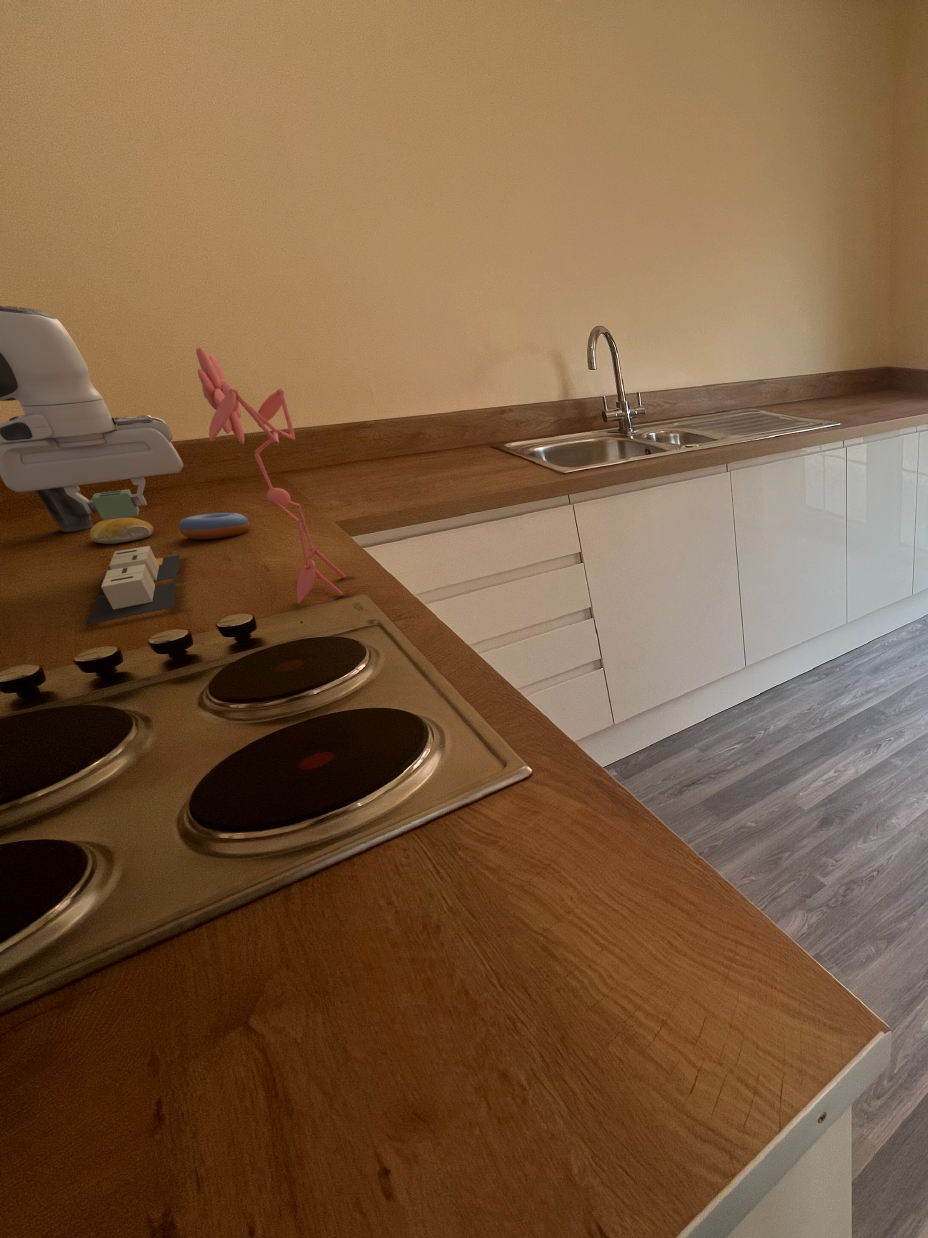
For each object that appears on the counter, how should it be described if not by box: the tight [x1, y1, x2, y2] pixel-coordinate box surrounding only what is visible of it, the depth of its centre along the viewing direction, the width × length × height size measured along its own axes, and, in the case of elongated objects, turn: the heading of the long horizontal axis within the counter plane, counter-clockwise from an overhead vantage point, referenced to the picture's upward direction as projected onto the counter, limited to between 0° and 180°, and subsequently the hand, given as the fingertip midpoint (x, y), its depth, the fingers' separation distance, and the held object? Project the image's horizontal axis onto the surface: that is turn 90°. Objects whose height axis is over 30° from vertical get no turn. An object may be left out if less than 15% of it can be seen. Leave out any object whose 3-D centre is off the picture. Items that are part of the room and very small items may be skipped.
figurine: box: [195, 346, 353, 604], centre depth 98 cm, size 15×26×35 cm, turn 32°
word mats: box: [85, 554, 180, 625], centre depth 109 cm, size 9×31×1 cm, turn 40°
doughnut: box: [178, 512, 250, 541], centre depth 132 cm, size 10×10×5 cm
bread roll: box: [89, 517, 154, 545], centre depth 132 cm, size 8×9×4 cm
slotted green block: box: [91, 488, 140, 521], centre depth 113 cm, size 4×4×4 cm
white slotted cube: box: [104, 564, 156, 593], centre depth 105 cm, size 4×4×4 cm
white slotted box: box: [100, 572, 154, 609], centre depth 102 cm, size 4×4×4 cm
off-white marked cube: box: [112, 545, 159, 573], centre depth 113 cm, size 4×4×4 cm
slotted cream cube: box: [108, 553, 158, 582], centre depth 110 cm, size 4×4×4 cm
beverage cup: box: [34, 487, 94, 533], centre depth 135 cm, size 7×7×20 cm
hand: (118, 508), depth 113 cm, fingers closed on slotted green block, 4 cm apart
